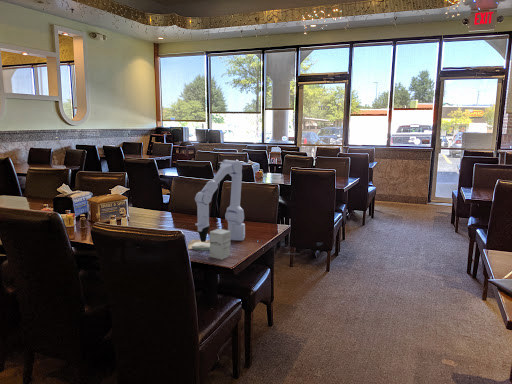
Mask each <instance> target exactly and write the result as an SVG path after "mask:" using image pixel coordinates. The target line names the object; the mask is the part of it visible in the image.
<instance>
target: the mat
mask: <svg viewBox="0 0 512 384" xmlns="http://www.w3.org/2000/svg"><path fill="white" fill-rule="evenodd" d="M195 242H197V243H210V239H206V241H205V242H201V240H200V239H192V240H191V241H190V242H188V244H187V245H188V249H187V250H190V249H192V245H193V244H194V243H195ZM193 251H209V252H210V250H207V249H194V250H193Z"/></svg>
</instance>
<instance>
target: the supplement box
mask: <svg viewBox="0 0 512 384" xmlns="http://www.w3.org/2000/svg"><path fill="white" fill-rule="evenodd" d="M230 238H231V231H228V229H224V228H223V229H222V228H216V229H213V230H210V231H209V240H210V251H209V258H214V259H218V260H224V259H227V258H228V257H230V256H231V240H230Z"/></svg>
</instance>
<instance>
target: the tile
mask: <svg viewBox="0 0 512 384" xmlns="http://www.w3.org/2000/svg"><path fill="white" fill-rule="evenodd" d="M192 249H207V250H206V251H209V250H210V243H197V242H195V243H194V244H193V245H192Z"/></svg>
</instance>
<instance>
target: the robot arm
mask: <svg viewBox="0 0 512 384" xmlns="http://www.w3.org/2000/svg"><path fill="white" fill-rule="evenodd" d="M242 171H243V164H242V162H241V161H239V160H231V159H230V160H229V159H223V160H222V162H221V163H220V164H219V169H218V171H217V172H216V174H215V175H214V177H213V178H212V179H211V180H209V181H207V182H206V184H205V185H204V186H203V188H202V189H201V190H200V191H198V192H197V193H196V194H195V197H194V201H195V203H196V207H197V209H196V210H197V212H196V213H197V223H196V222H195V223H194V224H195V225H194V226H197V228H196V231H197V233H198V235H199V240H201V242H205V241H206V240H207V237H208V236H207V235H208V233H209V230H210V203H211V202H212V198H213V195H214V193H215V192H216V191H217V189H218V188H219V183H221V181H222V180H223V179H224V178H225V176H227V175H229V176H230V177H231V187H230V201H229V206H228V207H226V212H225V214H224V217H225V220H226V221H227V222H226V223H227V230H228V231H231V238H230V241H240V242H241V241H244V240H245V238H246V224H245V223H244V220H245V212H244V211H245V210H244V209H243V208H242V207H241V198H242V196H241V193H242V182H243V181H242V180H243V172H242Z"/></svg>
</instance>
